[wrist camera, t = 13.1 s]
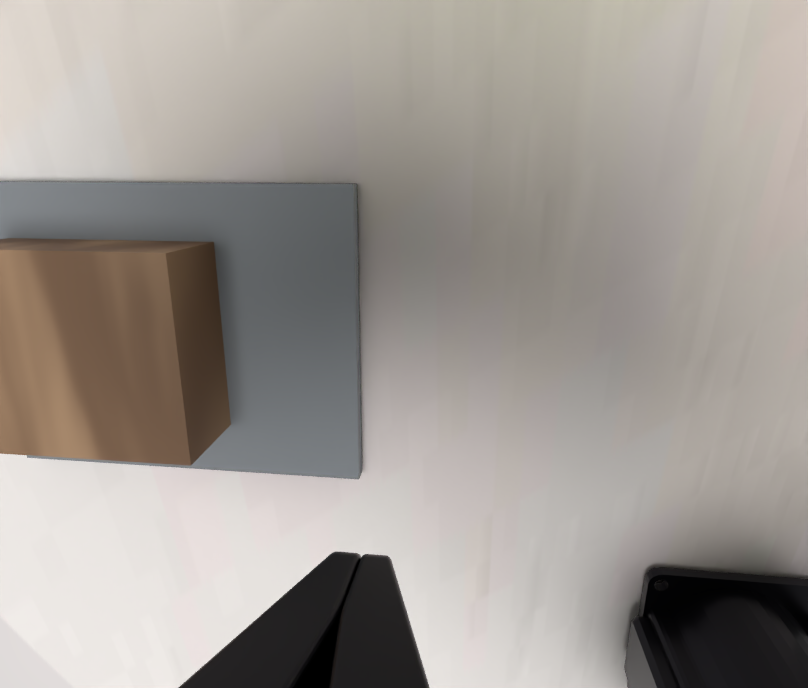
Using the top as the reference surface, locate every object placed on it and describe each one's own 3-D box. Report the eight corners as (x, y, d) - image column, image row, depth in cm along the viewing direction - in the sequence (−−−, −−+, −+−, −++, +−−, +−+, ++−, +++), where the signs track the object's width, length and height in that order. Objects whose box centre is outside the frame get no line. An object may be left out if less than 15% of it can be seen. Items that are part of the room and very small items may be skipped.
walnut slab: (165, 253, 16) (-79, 248, 17) (190, 465, 18) (-29, 451, 19) (214, 241, 19) (5, 238, 20) (230, 424, 21) (40, 414, 22)
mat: (356, 183, 19) (353, 183, 18) (361, 471, 22) (358, 479, 21) (-18, 181, 20) (-32, 181, 20) (37, 450, 23) (27, 457, 23)
